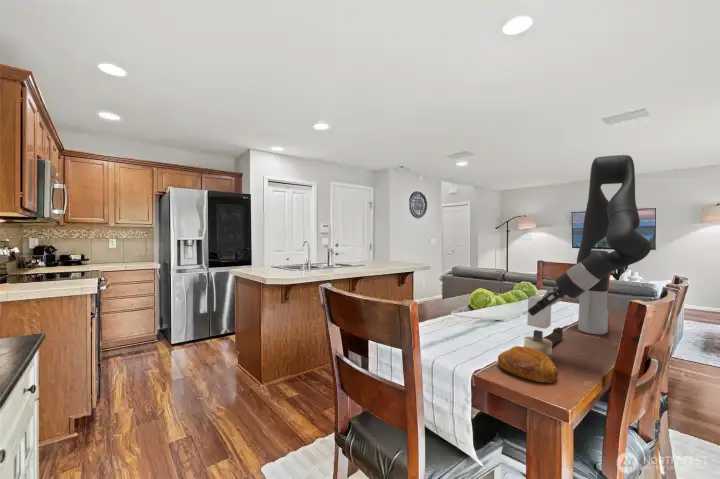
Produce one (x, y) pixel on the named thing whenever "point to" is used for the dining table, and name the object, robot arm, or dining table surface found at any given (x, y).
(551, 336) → the hand tool
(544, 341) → the cream rounded block
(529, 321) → the light grey block
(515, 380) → the dining table surface
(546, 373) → the croissant
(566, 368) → the dining table surface
